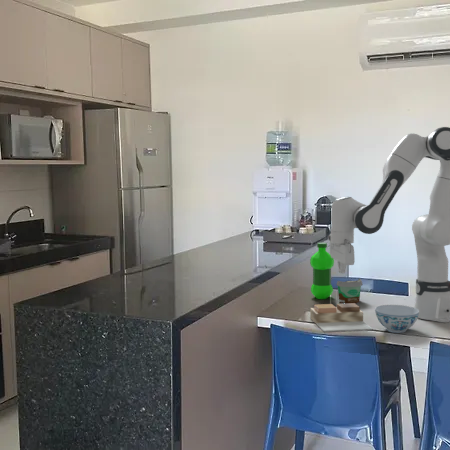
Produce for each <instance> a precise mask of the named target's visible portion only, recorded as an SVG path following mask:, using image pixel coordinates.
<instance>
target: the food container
mask: <svg viewBox="0 0 450 450" xmlns="http://www.w3.org/2000/svg"><path fill="white" fill-rule="evenodd" d="M336 286H337V292H338V295H337V296H338V302H340V303H339V304H343V303H345V304H346V303H355V304H358V303H360V300H361V299H360V298H361V289H362V286H363V280H362V279H361V278H358V279H357V280H346V281H341V280H337V282H336Z"/></svg>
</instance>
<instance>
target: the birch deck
mask: <svg viewBox="0 0 450 450" xmlns="http://www.w3.org/2000/svg"><path fill="white" fill-rule="evenodd" d="M335 307H336V308H337V306H335ZM309 311H310V312H309V313H310V315H309V316H310V317H309V318H310V319H311V320H312V321H313V323H314V324H316V323H329V322H356V321H363V322H364V312H363V311H362V310H361V309H360V312H341V311H340V310H338V309H337V312H334V313H318V312H317V311H316V310H315V309H314V307H310V309H309Z"/></svg>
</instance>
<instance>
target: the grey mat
mask: <svg viewBox="0 0 450 450" xmlns="http://www.w3.org/2000/svg"><path fill="white" fill-rule="evenodd" d="M315 324H316V326H317V327H318V328H320V330H321V331H322V332H324V333H327V332H328V333H330V332H331V333H332V332H353V331H354V332H355V331H356V332H358V331H373V330H374V329H373V327H372V326H370V325H369V324H368V323H366V322H365V321H364V320H363V321H356V322H329V323H315Z"/></svg>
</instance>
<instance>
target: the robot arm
mask: <svg viewBox="0 0 450 450" xmlns="http://www.w3.org/2000/svg"><path fill="white" fill-rule="evenodd" d="M424 158H425V159H431V160H435V161H439V164H440V166H439V167H440V168H439V171H438V174H437V175H436V179H435V181H434V184H433V186H432V189H431V193H430V195H429V201H430V202H429V204H430V205H429V209H428V210H429V211H428V214H423V215H420V216H418V217H416V218H415V219H414V220H413V222H412V225H411V230H412V231H411V232H412V233H413V236H414V237H413V238H414V245H415V251H416V258H417V271H416V272H417V273H416V279H415V302H414V306H413V308H416V309H418V310H419V315H418V318H417V319H421V320H425V321H426V320H427V321H435V322H439V323H449V322H450V280H449V259H448V256H447V252H446V249H445V246H450V127H449V126H441V127H438V128H436V129H435V130H434V131H432V132H431V133H429V134H428V135H427V136H421V135H419V134H418V133H408V134H406V135H405V136H404V137H403V138H402V139H401V140H400V141H398V143H397V144H396V145H395V146H394V148H393V149H392V151H391V153H390V154H389V155H388V157H387V159H386V160H385V162H384V165H383V167H382V182H381V184H380V186H379V188H378V189H377V191H376V193H375V194H374V196H373V197H372V199H371V201H369V203H368V204H365V203H362V202H360V201H357V200H356V199H354V198H353V197H352V196H343V197H338V198H336V199H334V200H333V201H332V204H331V212H330V221H331V228H330V234H329V235H328V241H329V254H330V255H331V258H333V259H334V261H337V262H336V263H337V267H338V272H339V273H340V274H346V268H347V266H353V265H355V248H354V245H352V244H354V243H355V240H354V239H355V238H354V236H355V229H357V230H359V232H361V233H363V234H367V235H372V234H375V233H377V232H378V231H379V230H380V229H381V228H382V226H383V224H384V219H385V214H386V212H387V209H388V208H389V206H390V205H391V203H392V201H393V200H394V198H395V196H396V194H397V193H398V191H399V190H400V189H401V188H402V187H403V185H404V184H405V183H406V182H407V181H408V179H410V177H411V176H412V175H413V173H414V171H416V169H417V167H418V165H420V163H421V162H422V161H423V160H424Z"/></svg>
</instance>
